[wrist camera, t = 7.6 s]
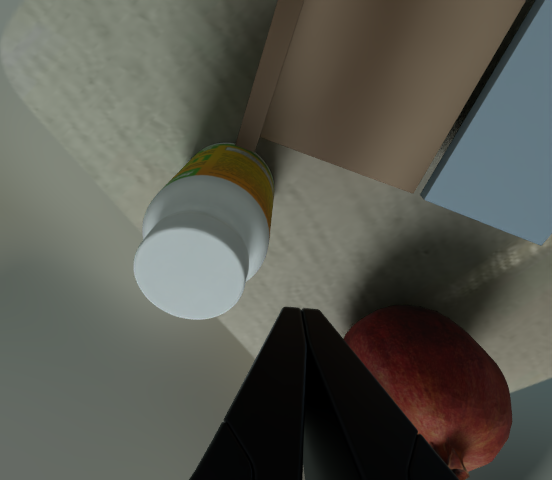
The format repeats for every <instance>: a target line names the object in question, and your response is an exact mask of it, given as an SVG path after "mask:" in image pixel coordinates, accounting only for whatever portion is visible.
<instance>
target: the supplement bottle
mask: <svg viewBox="0 0 552 480" xmlns="http://www.w3.org/2000/svg"><path fill="white" fill-rule="evenodd" d="M273 200H274V181H273V177H272V174H271V172H270V169H269V168H268V166H267V164H266V163H265V162H264V160H263V159H262V158H261V157H260V156H259V155H258V154H257V153H255V152H252V151H249V150H246V149H244V148H241V147H238V146H235V143H217V144H213V145H210V146H208V147H206V148H204V149H202V150H201V151H199V152H198V153H197V154H196V155H195V156H194V157H193V158H192V159H191V160H190V161H189V162H188V163H187V164H186V165H185V166H184V167H183V168H182V169H181V170H180V171H179V172H178V173H177V174H176V175H175V176H174V177H173V178H172V179H171V180H170V181H169V182H168V184H167V185H166V186H165V187H164V188H163V189H162V190H161V191H160V192H159V193H158V194H157V195H156V196H155V198H154V199H153V200H152V202H151V203H150V205H149V206H148V208H147V211H146V213H145V216H144V220H143V227H142V233H143V241H142V243H141V244H140V245H139V247H138V250H137V251H136V254H135V258H134V274H135V278H136V281H137V283H138V285H139V287H140V289H141V291H142V292H143V294H144V295H145V296H146V297H147V298H148V299H149V300H150V301H151V302H152V303H153V304H154V305H155V306H157V307H158V308H160V309H161V310H163V311H165V312H167V313H169V314H172V315H174V316H178V317H181V318H186V319H195V320H196V319H207V318H212V317H216V316H219V315H221V314H223V313H225V312H226V311H228V310H229V309H231V308H232V307H233V306H234V305H235V304H236V303H237V301H238V300H239V298H240V297H241V295H242V293H243V290H244V287H245V283H246V281H248V280H249V279H250V278H251V277H252V276H254V274H255V273H256V272H257V271H258V270H259V268H260V267H261V265H262V263H263V261H264V259H265V257H266V254H267V249H268V245H269V238H270V227H271V217H272V208H273Z"/></svg>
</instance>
